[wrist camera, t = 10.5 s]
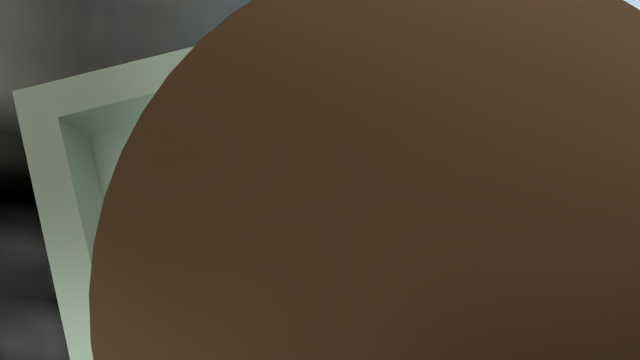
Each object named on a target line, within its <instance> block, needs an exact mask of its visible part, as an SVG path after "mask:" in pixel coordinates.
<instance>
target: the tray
mask: <svg viewBox="0 0 640 360" xmlns="http://www.w3.org/2000/svg"><path fill="white" fill-rule="evenodd" d="M193 48H194V46H193V47H189V48H185V49H181V50H177V51H173V52H169V53H165V54H161V55H157V56H153V57H148V58H144V59H140V60H136V61H132V62H128V63H124V64H120V65H116V66H112V67H108V68H104V69H100V70H96V71H92V72H88V73H84V74H80V75H76V76H72V77H67V78H63V79H59V80H55V81H51V82H47V83H43V84H39V85H35V86H31V87H27V88H23V89H19V90H15V91H12V93H13V98H14V102H15V107H16V112H17V116H18V121H19V125H20V130H21V135H22V139H23V144H24V148H25V153H26V158H27V162H28V167H29V171H30V176H31V181H32V185H33V190H34V194H35V199H36V204H37V208H38V213H39V218H40V222H41V227H42V231H43V236H44V241H45V245H46V250H47V254H48V259H49V264H50V268H51V273H52V277H53V282H54V287H55V291H56V296H57V300H58V305H59V310H60V314H61V319H62V324H63V328H64V333H65V337H66V342H67V347H68V351H69V356H70V360H93V354H92V348H91V340H90V312H89V286H90V276H91V265H92V254H93V244H94V240H95V235H96V231H97V227H98V222H99V218H100V214H101V209H102V205H103V200H104V197H105V194H106V191H107V188H108V186H109V183H110V180H111V178H112V175H113V172H114V170H115V167H116V164H117V162H118V159H119V156H120V153H121V151H122V149H123V148H124V146H125V144H126V142H127V140H128V138H129V136H130V134H131V132H132V130H133V129H134V127H135V125H136V123H137V121H138V119H139V117H140V115H141V113H142V112H143V110H144V109H145V107H146V106H147V104H148V103H149V102H150V100H151V99H152V97H153V96H154V95H155V93H156V92H157V90H158V89H159V87H160V86H161V85H162V83H163V82H164V80H165V79H166V78H167V76H168V75H169V74H170V72H171V71H172V70H173V69H174V68H175V67H176V66H177V65H178V64H179V63H180V62H181V61H182V59H183V58H184V57H185V56H186V55H187V54H188V53H189V52H190V51H191V50H192V49H193Z"/></svg>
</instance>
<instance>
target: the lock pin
mask: <svg viewBox="0 0 640 360" xmlns="http://www.w3.org/2000/svg"><path fill="white" fill-rule="evenodd" d="M89 312H90V340H91V348H92V354H93V360H640V10H638V9H637V8H635V7H633V6H632V5H630V4H628V3H627V2H625V1H623V0H252V1H251V2H249V3H248V4H246V5H245V6H243V7H242V8H240V9H238V10H237V11H235V12H234V13H232V14H231V15H230V16H229V17H228V18H226V19H225V20H224V21H223V22H222V23H220V24H219V25H218V26H217V27H216V28H214V29H213V30H212V31H211V32H210V33H209V34H207V35H206V36H205V37H204V38H203V39H201V40H200V41H199V42H198V43H197V44H196V45H195V46H194V48H193V49H192V50H191V51H190V52H189V53H188V54H187V55H186V56H185V57H184V58H183V59H182V61H181V62H180V63H179V64H178V65H177V66H176V67H175V68H174V69H173V70H172V71H171V72H170V74H169V75H168V76H167V78H166V79H165V80H164V82H163V83H162V85H161V86H160V87H159V89H158V90H157V92H156V93H155V95H154V96H153V97H152V99H151V100H150V102H149V103H148V104H147V106H146V107H145V109H144V110H143V112H142V113H141V115H140V117H139V119H138V121H137V123H136V125H135V127H134V129H133V130H132V132H131V134H130V136H129V138H128V140H127V142H126V144H125V146H124V148H123V149H122V151H121V153H120V156H119V159H118V162H117V164H116V167H115V170H114V172H113V175H112V178H111V180H110V183H109V186H108V188H107V191H106V194H105V197H104V200H103V205H102V209H101V214H100V218H99V222H98V227H97V231H96V235H95V240H94V244H93V254H92V265H91V276H90V286H89Z"/></svg>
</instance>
